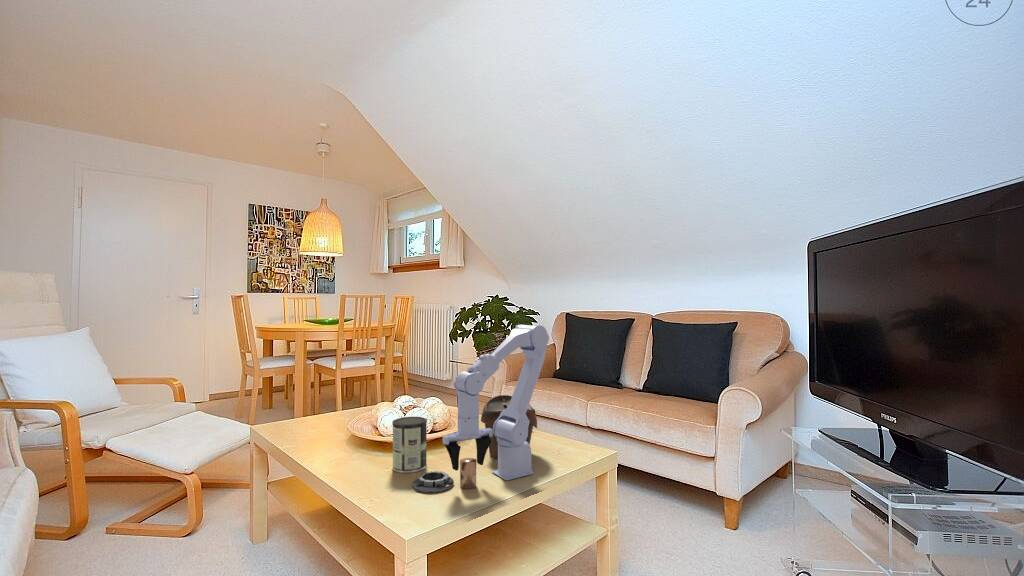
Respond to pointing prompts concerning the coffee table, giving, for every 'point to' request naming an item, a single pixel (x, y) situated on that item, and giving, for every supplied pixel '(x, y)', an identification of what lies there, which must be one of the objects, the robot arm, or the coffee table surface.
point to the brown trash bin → (493, 413)
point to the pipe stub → (468, 473)
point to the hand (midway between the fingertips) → (467, 466)
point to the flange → (433, 482)
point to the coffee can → (409, 444)
